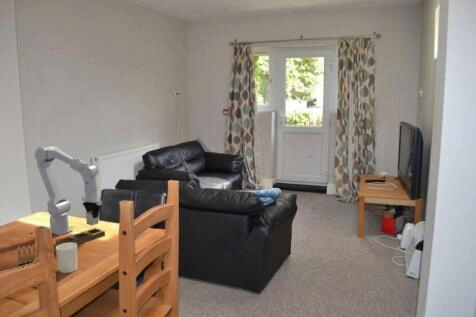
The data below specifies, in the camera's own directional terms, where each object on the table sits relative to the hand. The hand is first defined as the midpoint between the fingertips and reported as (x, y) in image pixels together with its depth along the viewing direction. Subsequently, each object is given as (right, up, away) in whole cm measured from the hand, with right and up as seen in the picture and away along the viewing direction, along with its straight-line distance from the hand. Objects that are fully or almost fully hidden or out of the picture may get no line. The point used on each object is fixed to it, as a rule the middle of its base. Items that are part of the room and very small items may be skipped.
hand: (92, 216), depth 199 cm
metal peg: (0, -3, 0) cm, 3 cm away
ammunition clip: (-10, -17, -38) cm, 43 cm away
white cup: (+3, -16, -35) cm, 39 cm away
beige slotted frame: (-4, -11, -4) cm, 12 cm away
